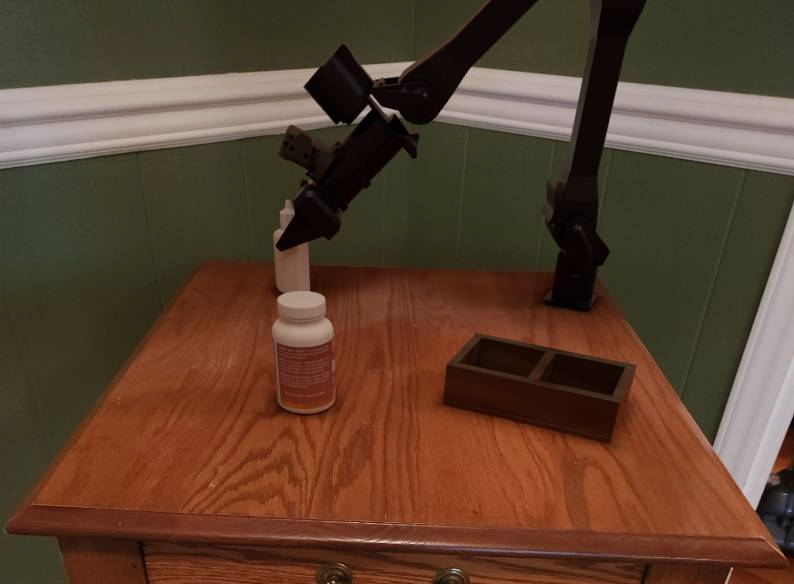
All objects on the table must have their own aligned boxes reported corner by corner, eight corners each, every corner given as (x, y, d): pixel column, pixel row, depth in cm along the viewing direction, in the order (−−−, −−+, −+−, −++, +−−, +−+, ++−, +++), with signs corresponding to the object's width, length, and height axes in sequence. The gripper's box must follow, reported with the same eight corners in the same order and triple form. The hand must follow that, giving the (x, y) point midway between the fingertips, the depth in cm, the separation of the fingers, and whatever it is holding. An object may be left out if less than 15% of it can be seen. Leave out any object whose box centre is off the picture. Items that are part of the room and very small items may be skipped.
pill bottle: (346, 407, 76) (345, 303, 70) (294, 421, 74) (287, 315, 67) (317, 383, 80) (314, 283, 74) (267, 397, 78) (258, 294, 71)
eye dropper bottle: (305, 283, 105) (302, 194, 98) (311, 297, 101) (307, 205, 94) (275, 285, 105) (269, 195, 97) (279, 299, 100) (273, 206, 93)
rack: (471, 370, 84) (476, 332, 82) (626, 404, 79) (637, 364, 76) (442, 404, 78) (446, 364, 75) (609, 444, 72) (620, 402, 69)
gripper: (321, 91, 96) (245, 179, 102) (308, 114, 81) (220, 215, 88) (380, 159, 101) (304, 239, 107) (377, 192, 86) (289, 283, 93)
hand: (280, 242), depth 99 cm, fingers closed on eye dropper bottle, 5 cm apart
